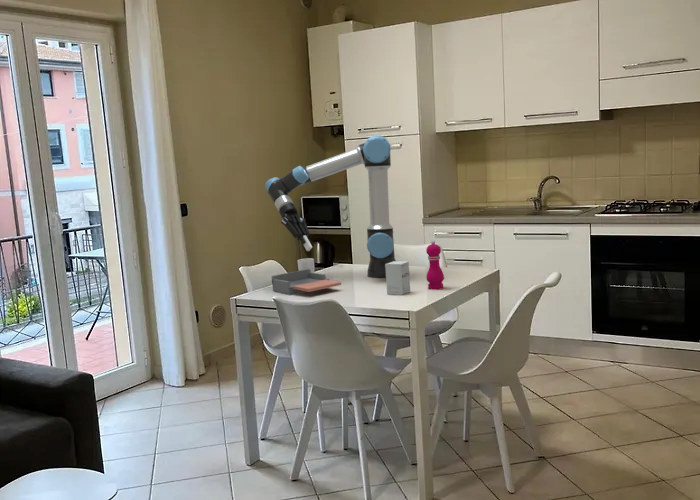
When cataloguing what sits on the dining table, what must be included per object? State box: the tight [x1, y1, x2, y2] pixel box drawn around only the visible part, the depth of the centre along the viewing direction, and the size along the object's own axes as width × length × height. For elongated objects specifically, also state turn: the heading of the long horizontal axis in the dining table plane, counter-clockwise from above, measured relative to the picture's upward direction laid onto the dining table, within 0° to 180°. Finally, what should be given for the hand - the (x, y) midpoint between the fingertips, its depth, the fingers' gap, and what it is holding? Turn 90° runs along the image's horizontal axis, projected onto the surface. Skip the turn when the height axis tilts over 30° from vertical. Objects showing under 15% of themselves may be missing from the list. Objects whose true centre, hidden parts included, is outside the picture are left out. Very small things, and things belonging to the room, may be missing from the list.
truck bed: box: [271, 269, 330, 296], centre depth 311 cm, size 15×21×7 cm
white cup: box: [296, 257, 315, 273], centre depth 333 cm, size 8×8×10 cm
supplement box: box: [385, 260, 411, 296], centre depth 286 cm, size 7×7×13 cm
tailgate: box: [293, 279, 342, 293], centre depth 301 cm, size 2×17×12 cm
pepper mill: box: [426, 239, 445, 290], centre depth 290 cm, size 7×7×20 cm
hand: (309, 249), depth 303 cm, fingers closed
